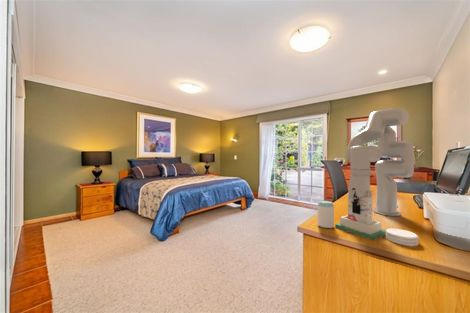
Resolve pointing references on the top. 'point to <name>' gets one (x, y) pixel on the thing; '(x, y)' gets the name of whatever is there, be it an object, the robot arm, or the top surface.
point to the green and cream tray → (361, 228)
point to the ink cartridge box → (362, 210)
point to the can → (325, 214)
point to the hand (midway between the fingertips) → (359, 212)
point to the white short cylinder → (402, 237)
